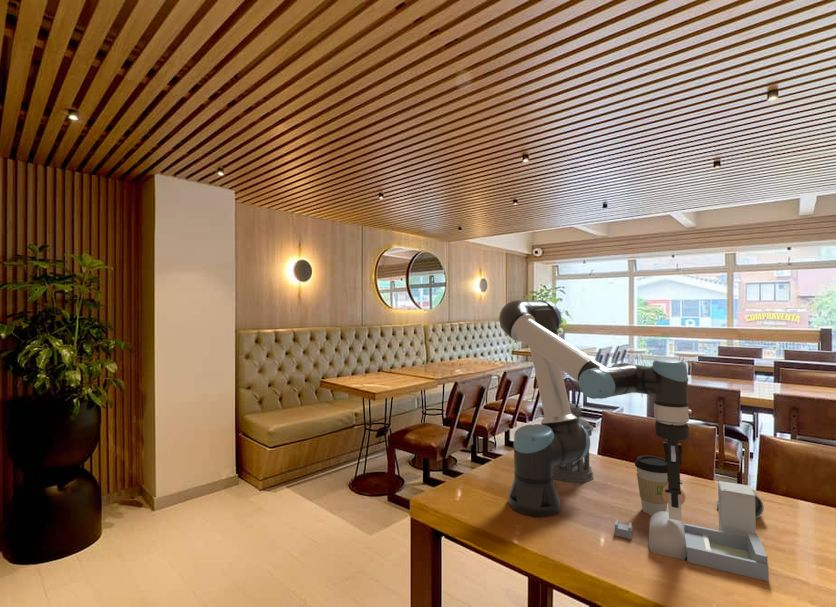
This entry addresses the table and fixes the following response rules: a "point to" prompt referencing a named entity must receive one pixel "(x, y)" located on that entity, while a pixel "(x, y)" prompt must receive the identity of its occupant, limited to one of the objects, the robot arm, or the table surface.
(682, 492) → the ball
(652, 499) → the coffee cup
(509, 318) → the robot arm
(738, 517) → the supplement box
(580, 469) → the lantern
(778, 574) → the table surface
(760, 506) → the ceramic mug
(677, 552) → the grey molded pieces
